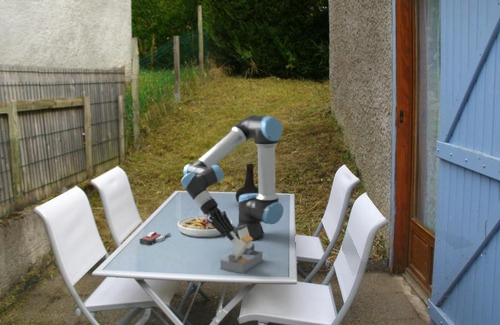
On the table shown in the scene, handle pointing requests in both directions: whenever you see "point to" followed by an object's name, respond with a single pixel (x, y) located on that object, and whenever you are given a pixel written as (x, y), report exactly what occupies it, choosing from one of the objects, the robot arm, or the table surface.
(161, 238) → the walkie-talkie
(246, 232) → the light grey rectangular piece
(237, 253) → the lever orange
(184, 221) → the bowl
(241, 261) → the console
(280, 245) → the table surface
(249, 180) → the glass bottle
